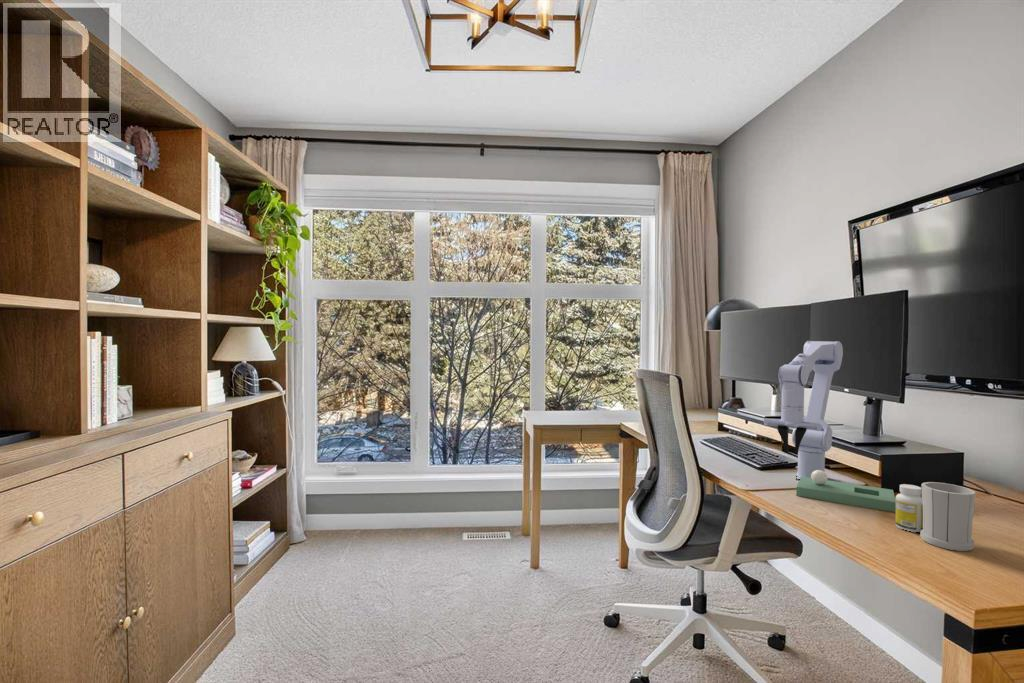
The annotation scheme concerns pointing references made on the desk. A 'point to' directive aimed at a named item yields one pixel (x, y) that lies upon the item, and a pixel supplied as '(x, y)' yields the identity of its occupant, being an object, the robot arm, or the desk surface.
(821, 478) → the ball
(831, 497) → the putting board
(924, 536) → the cup
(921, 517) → the supplement bottle
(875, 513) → the desk surface
